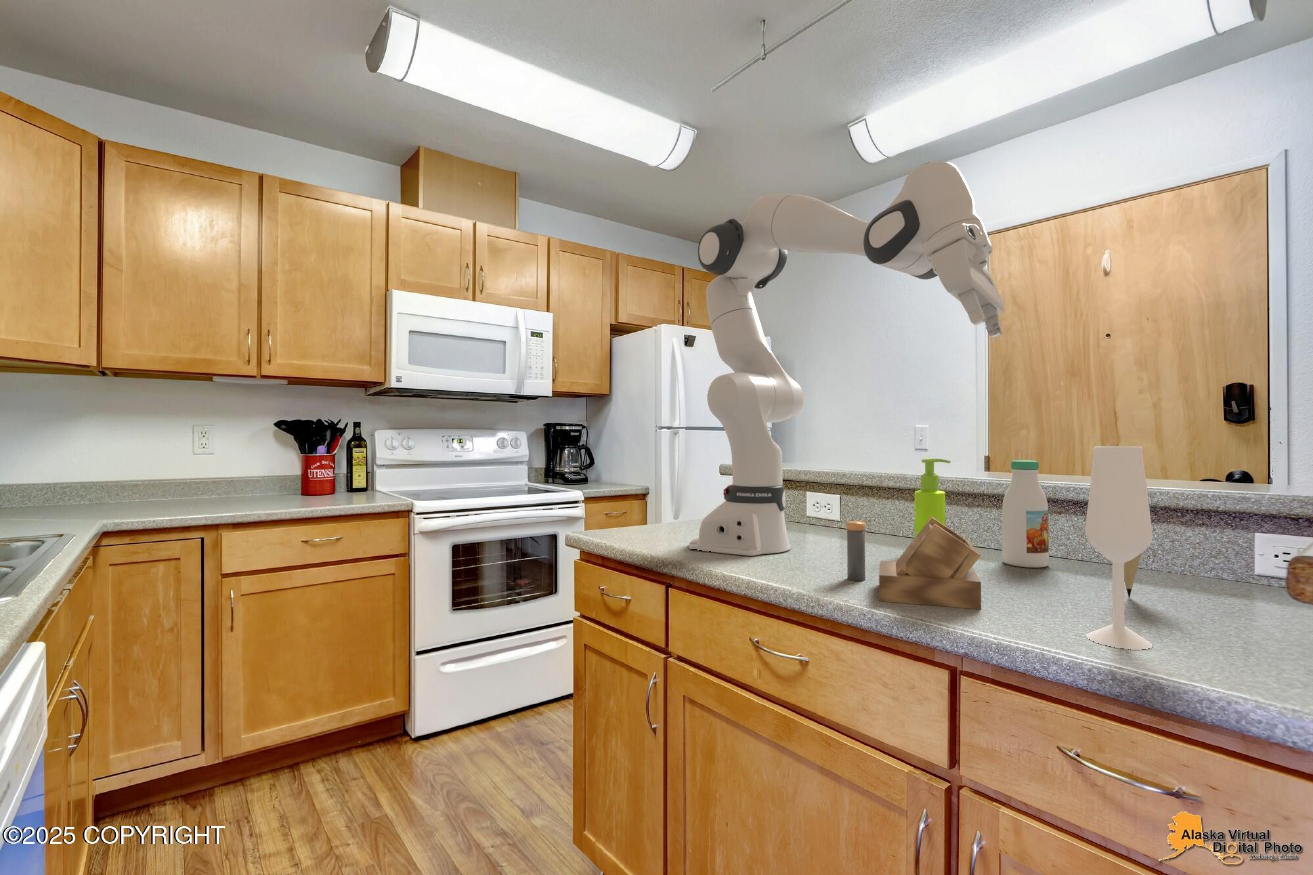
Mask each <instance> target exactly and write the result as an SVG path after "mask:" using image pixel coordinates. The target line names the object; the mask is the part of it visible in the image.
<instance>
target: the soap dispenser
mask: <svg viewBox="0 0 1313 875" xmlns="http://www.w3.org/2000/svg"><path fill="white" fill-rule="evenodd" d="M951 462H952V461H951V460H947V459H942V458H925V459H921V463H924V468H925V469H924V470H925V471H924V473H923V474H921V475H920V489H919V490H918V489H917V490H915V491H914V538H915V537H916V536H917V535H918V533H919V532H920V531H921V529H922V528H923V527H924V526H925V524H926V523H927V522H928V520H929V519H930V518H931V517H933V518H934V519H936V520H937V521H939V522H940V523H942V524H943V525H945V526H946V492H945V491H942V490H940V489H939V486H940V485H939V483H940V482H939V480H940V479H939V475H938V474H937V473H935V463H947V464H950V463H951Z"/></svg>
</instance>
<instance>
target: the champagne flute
mask: <svg viewBox="0 0 1313 875" xmlns="http://www.w3.org/2000/svg"><path fill="white" fill-rule="evenodd" d="M1091 466H1092V468H1091V476H1090V484H1089V493H1088V502H1087V512H1086V522H1085V530H1084V534H1085V537H1086V539H1087V540H1088V542H1089V543H1090V545H1091V546H1092V547H1093V548H1094V549H1095V550H1096V551H1097V552H1098V553H1099V554H1101V555H1102V556H1103V557H1104V558H1105V559H1106V560H1109V561H1110V562H1111V563H1112V567H1111V568H1112V571H1111V573H1112V575H1111V576H1112V578H1111V579H1112V580H1111V582H1112V583H1111V584H1112V586H1111V587H1112V592H1111V593H1112V596H1111V598H1112V600H1111V602H1112V603H1111V604H1112V607H1111V608H1112V623H1111V624H1110V625H1107V626H1103V627H1101V628H1099V629H1096V630H1093V631H1090V632H1088V633H1086V634H1085V638H1086V639H1088V640H1089V639H1090V640H1089V641H1091V642H1093V641H1094V642H1093V643H1096V644H1098V643H1099V645H1102V646H1105V645H1107V646H1106V647H1109V646H1111V647H1110V648H1114V647H1115V649H1120V648H1124V649H1123V650H1128V649H1129V650H1130V649H1131V650H1132V651H1143V650H1142V649H1146V650H1149V649H1148V648H1150V649H1152V648H1153V647H1152V645H1153V644H1152V643H1151V642H1150V641H1148V640H1147V639H1145V638H1144V637H1142V636H1141V635H1139V634H1137V633H1136V632H1135V631H1133V630H1131V629H1130V628H1128V627H1126V626H1125V581H1124V563H1125V562H1128V561H1130V560H1132V559H1133V558H1135V557H1136V556H1138V555H1139V554H1141V555H1142V553H1143V552H1145V551H1146V550H1147V549H1148V547H1149V546H1150V545H1151V543H1152V542H1153V538H1154V537H1153V536H1154V535H1153V525H1152V519H1151V510H1150V504H1149V502H1150V501H1149V495H1148V486H1147V478H1146V469H1145V461H1144V451H1143V446H1135V445H1133V446H1132V445H1130V446H1129V445H1128V446H1127V445H1126V446H1123V445H1117V446H1114V445H1112V446H1111V445H1106V446H1105V445H1104V446H1101V445H1100V446H1099V445H1098V446H1097V445H1096V446H1094V447H1093V458H1092V465H1091ZM1151 525H1152V526H1151ZM1131 650H1130V651H1131Z"/></svg>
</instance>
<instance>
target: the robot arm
mask: <svg viewBox="0 0 1313 875" xmlns="http://www.w3.org/2000/svg"><path fill="white" fill-rule="evenodd" d="M746 214H747V215H746V217H745V219H744V220H741V221H739V222H738V220H737V219H735V218H730V219H728V220H726V221H725V222H723V223H719V224H717V225H714V226H712V227H710V228H708V229H707V230H706V231H705V232H704V233H703V235H702V236H701V238H700V239H699V242H698V247H697V257H698V258H697V259H698V262H699V264H700V266H701V267H702V269H704V270H705V271H707V272H709V273H710V274H712V275H715V276H716V277H714V278H713V279H712V280H711V281H710V282H709V283H708V285H707V288H706V290H705V292H706V293H705V295H706V296H705V297H706V298H705V299H706V307H707V314H708V319H709V323H710V327H711V328H710V329H711V332H712V335H713V338H714V343H715V345H716V350H717V353H718V357H719V358H720V359H721V361H722V362H724V364H726V365H727V366H728V367H729V368H731V370H732V371H733V372H730V373H726V374H721V375H719V376H717V377H716V378H715V379H713V380H712V382H711V383H710V385H709V387H708V391H707V395H706V399H707V401H706V402H707V405H708V408H709V410H710V413H711V414H712V415H713V416H714V417H715V418H716V419H717V420H718V421H719V423H720V424H721V425H722V427H723V429H724V431H725V434H726V437H727V439H728V442H729V447H730V453H731V466H732V467H731V469H732V471H731V472H732V473H731V474H732V483H731V484H728V485H727V486H726V487H725V488H724V489H723V492H722V493H723V499H724V501H723V502H722V503H721V504H719V505H718V506H717V507H716V508H714V509H713V510H712V511H711V512H709V513H708V514H707V515H706V516H704V517H703V519H702V521H701V523H700V526H699V533H698V537H696V538H693V539H692V540H691V541H690V542H688V543H689V544H688V549H690V550H691V549H697V550H696V551H699V550H702V551H701V552H709V551H711V552H710V553H718V554H719V553H721V554H729V555H731V554H732V555H739V556H740V555H741V556H749V557H750V556H752V557H753V556H759V555H764V554H765V555H766V554H767V555H768V554H777V553H783V552H786V551H790V550H791V543H790V540H789V536H788V532H787V526H786V519H785V509H786V489H785V487H786V486H785V485H784V483H783V478H784V477H783V451H782V449H781V447H780V445H779V444H778V443H776V441H774V440H773V437H772V436H771V432H770V429H769V427H768V426H769V425H768V423H775V424H776V423H781V422H783V421H786V420H790V419H793V418H795V417H796V416H797V415H799V413H800V412H801V410H802V408H803V404H804V392H803V389H802V387H801V385H800V383H798V382H797V381H796V380H794V379H793V378H792V377H791V376H790V375H789V374H788V373H787V372H786V371H785V369H784V368H783V366H782V365H781V364H780V362H779V360H778V359H777V358H776V356H775V354H774V353H773V351H772V349H771V348H770V346H769V344H768V341H767V339H766V336H765V332H764V329H763V326H762V323H761V320H760V317H759V314H758V311H757V307H756V305H755V301H754V297H753V292H754V289H758V290H760V289H761V290H762V289H763V288H765V287H767V285H768V284H769V282H771V281H773V280H774V279H776V278H777V277H778V276H779V275H780V274H781V272H782V271H783V270H784V268H785V266H786V265H787V264H786V263H787V261H788V260H787V259H788V251H789V252H795V253H797V252H798V253H809V254H810V253H813V254H815V253H820V254H821V253H824V254H825V253H826V254H849V255H858V256H863V257H867V259H868V260H869V261H870V262H871V263H872V264H876V265H878V266H881V267H884V268H886V269H887V268H888V269H891V270H894V271H898V272H901V273H905V274H906V275H907V274H908V275H910V276H912V277H915V278H917V279H919V280H931V279H934V278H936V277H937V276H938V278H939V280H940V282H941V284H942V286H943V288H944V289H945V290H946V292H947V293H948V294H950V295H951V296H952V297H954V298H955V299H956V300H958V302H960V303H961V306H962V307H963V308H964V310H965V312H966V313H967V316H968V318H969V321H970V323H971V324H973V325H974V326H978V325H980V324H983V323H984V324H985V329H986V331H987V334H988V336H989V337H991V338H993V339H994V338H995V339H996V338H998V337H1000V336H1002V335H1003V329H1002V326H1001V322H1000V315H1001V314H1002V313H1004V311H1005V306H1004V303H1003V300H1002V298H1001V295H1000V292H999V291H998V288H997V286H996V283H995V281H994V279H993V276H992V275H991V273H990V271H988V269H987V268H986V266H987V264H988V257H990V255H991V253H992V251H993V246H992V244H991V241H990V239H989V236H988V234H987V231H986V228H985V226H984V223H983V220H982V219H981V218H980V216H978V214H977V212H976V210H975V201H974V198H973V195H972V193H971V191H970V188H969V186H968V184H967V181H966V180H965V178H964V176H963V174H962V173H961V171H960V170H959V168H958V167H957V165H955V164H953V163H951V162H948V161H944V160H936V161H935V160H934V161H930V162H926V163H923V164H921V165H918V166H917V167H916V168H914V169H912V170H911V171H910V172H909V173H908V174H907V176H906V177H905V179H904V182H903V185H902V187H901V189H900V190H899V193H898V194H897V196H896V197H895V198H894V199H893V200H892V201H891V203H889V205H888V206H887V207H886V208H885V209H883V210H882V211H881V212H880V213H878V214H877V215H875V216H874V217H873V218H872V220H871V221H867V220H866V221H865V220H863V219H861V218H858V217H857V216H854V215H852V214H849V213H847V212H846V211H843V210H842V209H840V208H837V207H836V206H834V205H831V203H828V202H825V201H823V200H821V199H818V198H816V197H813V196H810V195H806V194H799V193H791V192H790V193H788V192H787V193H786V192H785V193H784V192H783V193H771V194H765V195H762V196H760V197H758V198H756V199H755V200H754V201H753V202H752V204H751V205H750V206H749V208H748V210H747V213H746Z"/></svg>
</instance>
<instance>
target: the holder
mask: <svg viewBox="0 0 1313 875" xmlns="http://www.w3.org/2000/svg"><path fill="white" fill-rule="evenodd" d="M981 556H982V555H981V553H979V552H978V551H977V549H975V544H973V543H972V542H970V541H969V540H967V539H966V538H964V537H963V536H961V535H960V534H958V533H957V532H956V531H954V530H953V529H951V528H949V527H948V526H946V524H945V525H943V524H942V523H940V522H939V521H937V520H936V519H934V518H933V517H931V518H930V519H929V520H928V522H927V523H926V524H925V526H924V527H923V528H922V529H921V531H920V532H919V533H918V535H917V536H916V537H915V536H914V538H913V539H912V541H911V542H910V543H909V545H908V546H907V548H906V549H905V550H904V551H903V552H902V554H901V555H900V556H899V558H898V559H897V560H895V561H889V560H880V561H879V570H878V571H879V572H878V574H879V575H878V586H879V587H878V588H879V589H878V592H879V593H878V598H879V600H878V601H879V602H887V603H888V602H889V603H900V604H910V605H911V604H912V605H913V604H914V605H925V606H938V607H949V608H962V609H963V608H964V609H973V610H975V609H976V610H981V609H982V582H981V579H980V577H979V576H978V574H977V573H976V571H975V569H974V567H973V566H974V565H975V564H976V563H977V561H979V559H980V558H981Z"/></svg>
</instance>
